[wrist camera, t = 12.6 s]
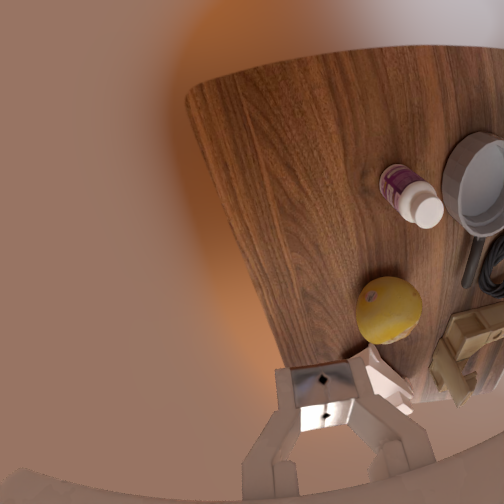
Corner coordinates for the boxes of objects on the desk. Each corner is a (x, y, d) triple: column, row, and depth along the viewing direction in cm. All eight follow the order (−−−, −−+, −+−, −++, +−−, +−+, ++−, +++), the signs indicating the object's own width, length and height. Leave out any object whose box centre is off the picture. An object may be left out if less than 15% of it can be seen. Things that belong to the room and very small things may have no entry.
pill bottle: (370, 178, 39) (402, 210, 31) (400, 155, 37) (438, 181, 29) (389, 206, 41) (420, 242, 33) (417, 185, 40) (454, 216, 31)
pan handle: (473, 226, 40) (480, 233, 39) (482, 225, 40) (489, 232, 39) (458, 284, 47) (463, 291, 45) (466, 282, 47) (471, 289, 45)
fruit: (336, 306, 51) (352, 352, 42) (374, 255, 46) (399, 298, 37) (380, 320, 53) (398, 362, 45) (417, 275, 48) (443, 315, 40)
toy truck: (410, 380, 66) (422, 410, 58) (385, 394, 68) (396, 424, 61) (366, 337, 56) (381, 375, 48) (336, 356, 58) (346, 395, 50)
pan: (444, 127, 35) (465, 137, 31) (512, 134, 35) (533, 144, 30) (433, 225, 43) (449, 241, 39) (498, 218, 43) (515, 232, 38)
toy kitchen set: (476, 353, 64) (500, 397, 51) (425, 369, 64) (447, 420, 51) (503, 300, 54) (537, 346, 41) (448, 314, 54) (482, 371, 41)
